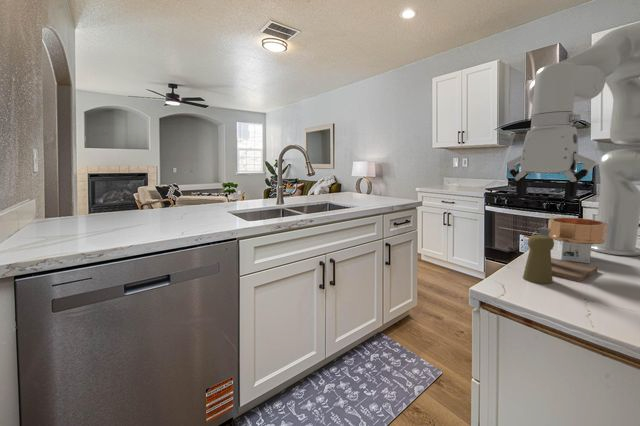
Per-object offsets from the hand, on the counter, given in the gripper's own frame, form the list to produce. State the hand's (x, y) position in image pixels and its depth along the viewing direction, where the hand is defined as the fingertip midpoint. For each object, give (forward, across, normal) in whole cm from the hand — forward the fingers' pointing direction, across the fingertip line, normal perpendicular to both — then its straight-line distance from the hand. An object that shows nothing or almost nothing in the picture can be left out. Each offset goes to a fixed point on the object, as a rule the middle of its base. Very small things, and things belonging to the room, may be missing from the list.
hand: (543, 198), depth 73 cm
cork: (+20, 0, -1) cm, 20 cm away
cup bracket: (+20, -2, -13) cm, 24 cm away
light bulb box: (+20, +2, -29) cm, 35 cm away
